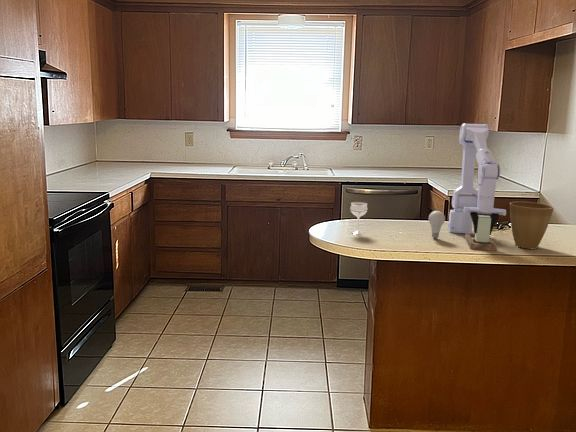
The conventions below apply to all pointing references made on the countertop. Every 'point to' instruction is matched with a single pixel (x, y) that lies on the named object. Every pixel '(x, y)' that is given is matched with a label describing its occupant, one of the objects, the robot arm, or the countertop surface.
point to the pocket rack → (479, 243)
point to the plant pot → (529, 222)
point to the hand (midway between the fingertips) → (482, 233)
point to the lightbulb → (436, 222)
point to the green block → (483, 228)
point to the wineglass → (358, 212)
